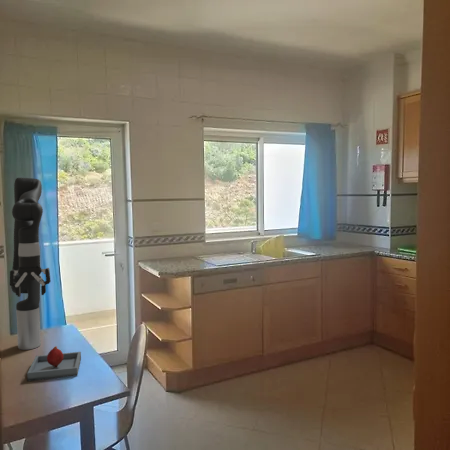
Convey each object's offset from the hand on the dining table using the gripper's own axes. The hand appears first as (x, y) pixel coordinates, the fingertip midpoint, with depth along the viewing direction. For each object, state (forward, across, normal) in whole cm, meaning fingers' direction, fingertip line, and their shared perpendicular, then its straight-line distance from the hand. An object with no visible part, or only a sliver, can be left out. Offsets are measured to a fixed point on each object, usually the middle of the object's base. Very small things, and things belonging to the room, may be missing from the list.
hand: (31, 295), depth 163 cm
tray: (+28, -9, +6) cm, 30 cm away
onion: (+27, -9, +6) cm, 29 cm away
